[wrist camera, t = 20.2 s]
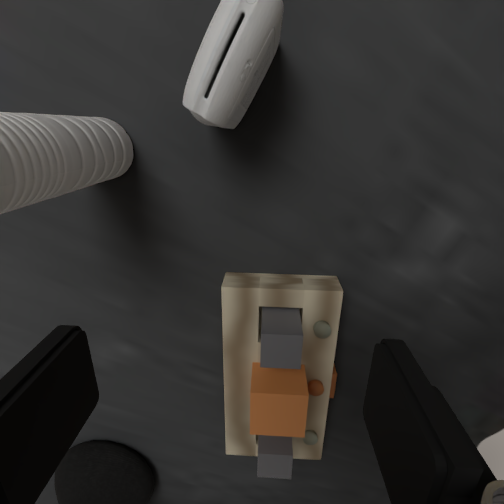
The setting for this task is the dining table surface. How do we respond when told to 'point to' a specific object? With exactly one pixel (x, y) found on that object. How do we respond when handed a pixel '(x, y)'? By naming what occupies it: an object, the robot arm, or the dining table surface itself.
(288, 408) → the cap
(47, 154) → the water bottle
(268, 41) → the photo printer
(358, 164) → the dining table surface
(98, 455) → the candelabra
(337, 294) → the breaker board
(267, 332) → the block
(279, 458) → the block
